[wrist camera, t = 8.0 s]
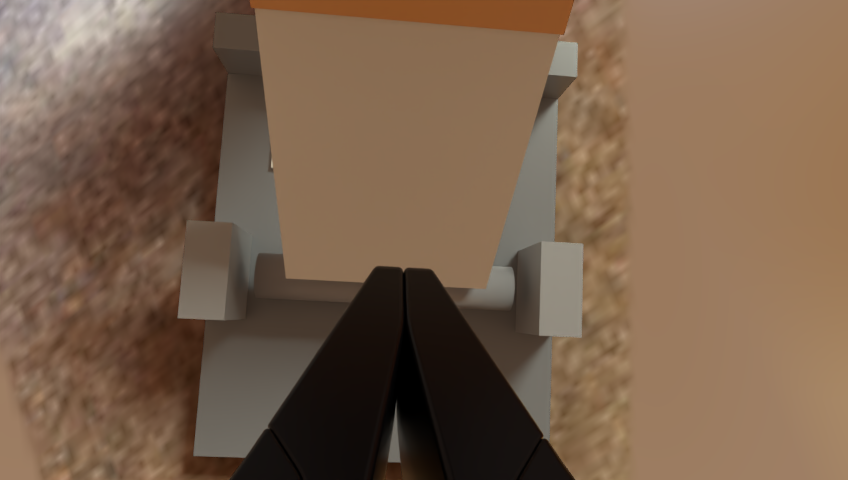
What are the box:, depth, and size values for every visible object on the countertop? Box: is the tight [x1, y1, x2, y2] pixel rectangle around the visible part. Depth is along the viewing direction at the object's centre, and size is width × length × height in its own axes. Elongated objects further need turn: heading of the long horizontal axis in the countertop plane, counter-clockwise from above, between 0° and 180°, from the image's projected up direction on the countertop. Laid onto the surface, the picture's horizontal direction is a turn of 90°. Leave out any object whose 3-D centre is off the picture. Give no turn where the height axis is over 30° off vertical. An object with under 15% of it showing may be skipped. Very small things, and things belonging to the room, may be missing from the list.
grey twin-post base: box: [178, 12, 583, 463], centre depth 18 cm, size 12×10×4 cm
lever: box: [250, 0, 574, 311], centre depth 13 cm, size 2×7×11 cm
